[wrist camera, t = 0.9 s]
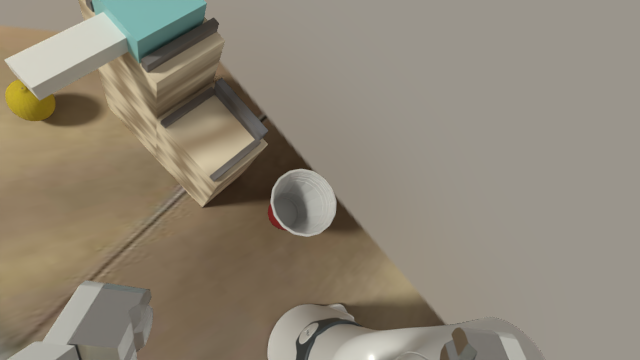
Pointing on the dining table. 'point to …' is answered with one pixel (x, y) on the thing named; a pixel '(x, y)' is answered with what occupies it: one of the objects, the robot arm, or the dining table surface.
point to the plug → (104, 40)
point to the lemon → (28, 102)
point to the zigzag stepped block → (185, 110)
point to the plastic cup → (302, 203)
